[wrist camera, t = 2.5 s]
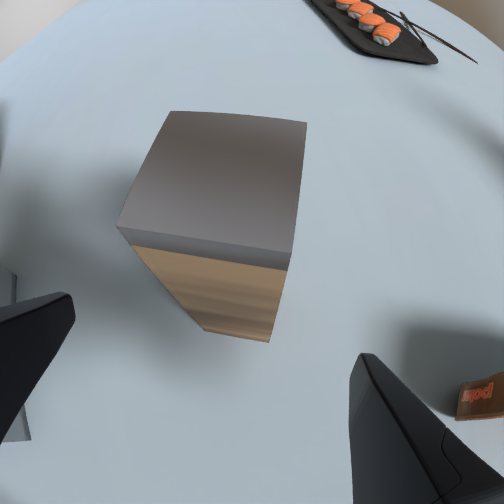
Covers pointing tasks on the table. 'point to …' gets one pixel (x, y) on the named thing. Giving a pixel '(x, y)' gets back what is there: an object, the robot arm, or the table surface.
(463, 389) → the tin
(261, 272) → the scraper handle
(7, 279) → the box
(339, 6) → the sushi plate
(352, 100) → the table surface
